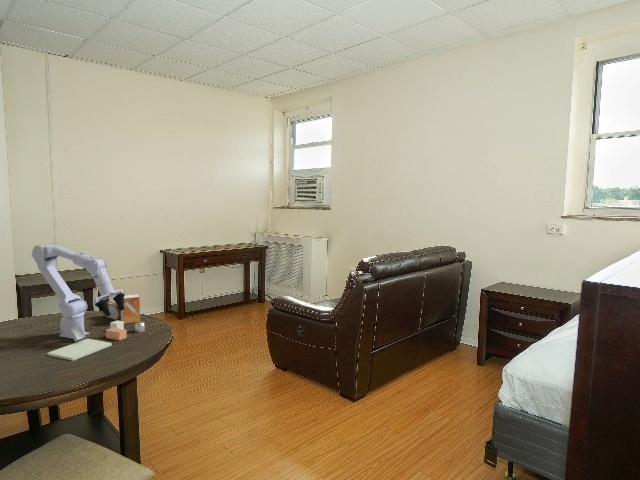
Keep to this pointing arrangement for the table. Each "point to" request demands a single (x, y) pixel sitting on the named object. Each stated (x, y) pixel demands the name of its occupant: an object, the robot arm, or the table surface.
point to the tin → (113, 311)
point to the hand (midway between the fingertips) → (115, 313)
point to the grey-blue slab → (77, 333)
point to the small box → (131, 309)
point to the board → (79, 349)
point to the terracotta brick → (116, 333)
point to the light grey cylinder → (140, 327)
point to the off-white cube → (117, 324)
